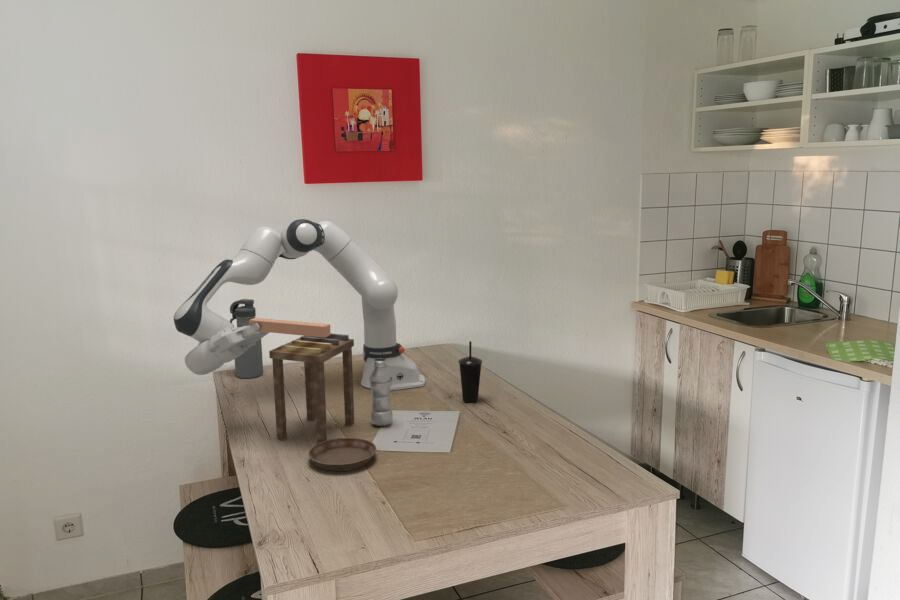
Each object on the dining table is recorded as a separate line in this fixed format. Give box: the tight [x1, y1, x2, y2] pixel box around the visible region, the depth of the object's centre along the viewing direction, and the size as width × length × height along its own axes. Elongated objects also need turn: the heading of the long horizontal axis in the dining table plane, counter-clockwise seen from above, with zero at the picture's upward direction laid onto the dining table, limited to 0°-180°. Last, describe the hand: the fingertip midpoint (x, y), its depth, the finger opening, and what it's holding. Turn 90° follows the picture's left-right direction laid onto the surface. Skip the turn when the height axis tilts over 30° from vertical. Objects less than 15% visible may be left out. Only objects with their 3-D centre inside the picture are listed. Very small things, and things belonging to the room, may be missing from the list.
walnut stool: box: [268, 332, 355, 445], centre depth 202 cm, size 16×19×28 cm
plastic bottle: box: [369, 358, 394, 427], centre depth 208 cm, size 6×7×20 cm
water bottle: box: [229, 298, 264, 380], centre depth 255 cm, size 10×10×28 cm
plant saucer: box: [307, 437, 377, 472], centre depth 185 cm, size 18×18×3 cm
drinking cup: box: [458, 341, 483, 404], centre depth 227 cm, size 8×8×20 cm
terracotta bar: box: [249, 317, 332, 338], centre depth 195 cm, size 24×3×3 cm, turn 70°
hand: (264, 323), depth 198 cm, fingers closed on terracotta bar, 3 cm apart
